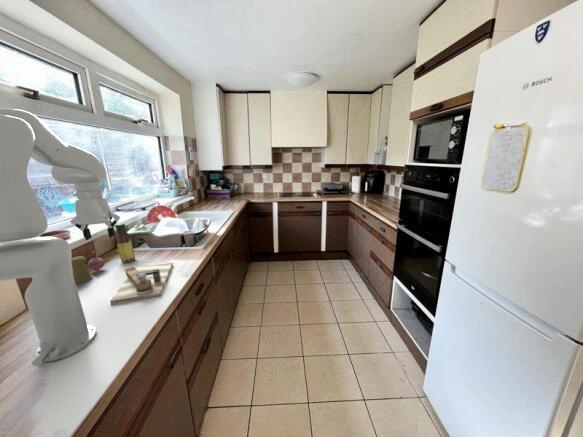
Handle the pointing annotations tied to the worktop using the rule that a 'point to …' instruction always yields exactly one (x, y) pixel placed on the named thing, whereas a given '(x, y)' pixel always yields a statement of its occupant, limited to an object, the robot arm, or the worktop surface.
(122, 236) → the sauce bottle
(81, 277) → the olive green tapered block
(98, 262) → the vegetable
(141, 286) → the link
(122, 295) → the pivot board
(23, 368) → the worktop surface
